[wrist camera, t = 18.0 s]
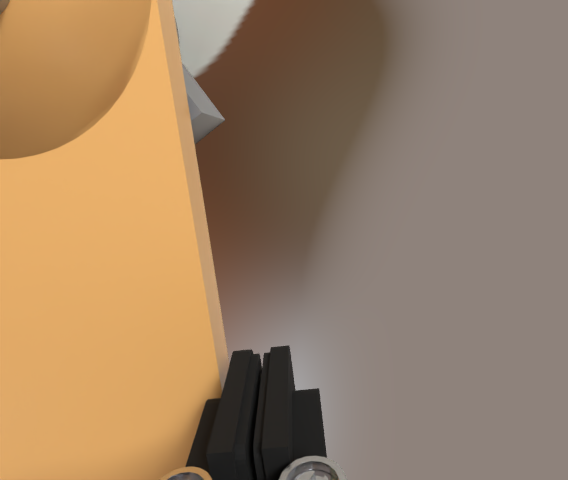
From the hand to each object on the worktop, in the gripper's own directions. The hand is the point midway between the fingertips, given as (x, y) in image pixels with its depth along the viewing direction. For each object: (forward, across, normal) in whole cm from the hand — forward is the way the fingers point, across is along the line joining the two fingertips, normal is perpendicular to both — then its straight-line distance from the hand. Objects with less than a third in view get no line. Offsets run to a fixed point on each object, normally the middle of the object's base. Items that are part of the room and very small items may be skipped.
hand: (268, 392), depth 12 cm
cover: (+1, +5, -4) cm, 7 cm away
